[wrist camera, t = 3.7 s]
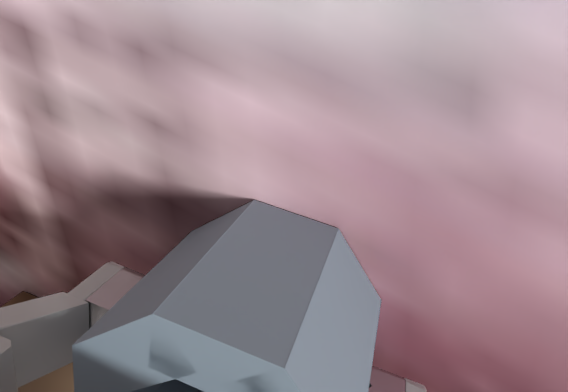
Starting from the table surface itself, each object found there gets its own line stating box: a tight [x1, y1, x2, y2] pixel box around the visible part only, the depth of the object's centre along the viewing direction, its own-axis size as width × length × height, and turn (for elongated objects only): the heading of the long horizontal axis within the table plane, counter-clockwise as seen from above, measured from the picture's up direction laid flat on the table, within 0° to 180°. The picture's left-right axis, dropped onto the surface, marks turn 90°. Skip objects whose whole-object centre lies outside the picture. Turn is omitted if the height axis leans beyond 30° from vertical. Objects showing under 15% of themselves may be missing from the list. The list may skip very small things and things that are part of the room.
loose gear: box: [72, 200, 381, 392], centre depth 11 cm, size 6×6×5 cm
